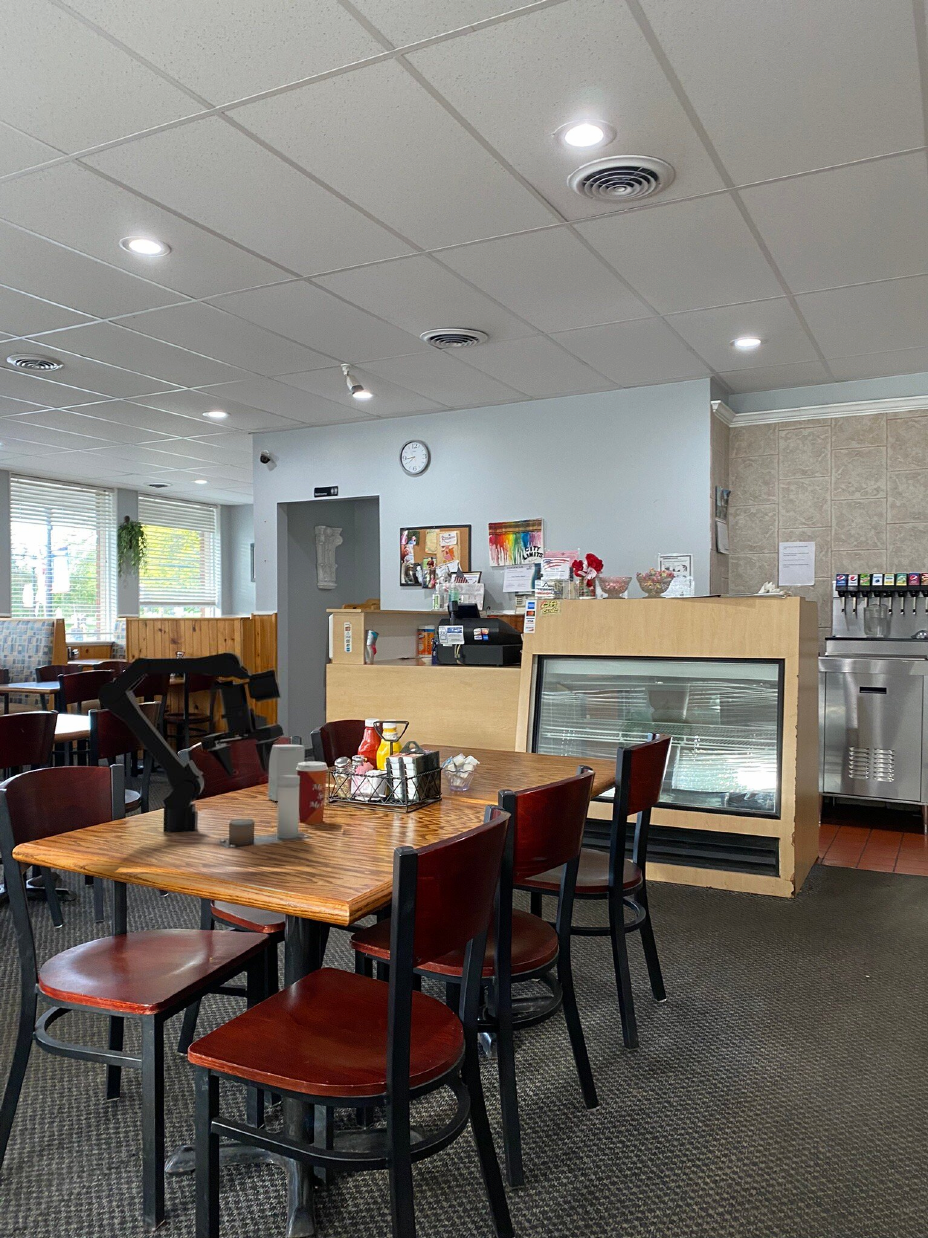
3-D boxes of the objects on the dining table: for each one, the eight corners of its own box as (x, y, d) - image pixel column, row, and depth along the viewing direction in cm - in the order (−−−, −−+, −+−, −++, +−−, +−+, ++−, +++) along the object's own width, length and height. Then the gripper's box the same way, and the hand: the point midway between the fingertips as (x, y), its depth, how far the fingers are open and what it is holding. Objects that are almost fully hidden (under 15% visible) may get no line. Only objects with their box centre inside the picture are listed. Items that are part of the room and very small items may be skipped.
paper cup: (320, 825, 210) (321, 766, 210) (289, 824, 211) (291, 764, 212) (332, 819, 218) (333, 761, 218) (302, 817, 219) (303, 760, 219)
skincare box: (276, 802, 239) (277, 747, 239) (267, 799, 244) (268, 744, 244) (304, 799, 244) (305, 745, 244) (295, 796, 249) (296, 742, 249)
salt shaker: (277, 839, 192) (278, 778, 192) (276, 834, 196) (277, 775, 196) (299, 838, 193) (300, 777, 193) (297, 833, 197) (298, 774, 198)
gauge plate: (228, 852, 183) (229, 847, 183) (215, 845, 189) (215, 839, 189) (313, 841, 194) (313, 836, 194) (298, 834, 200) (298, 829, 200)
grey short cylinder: (226, 845, 186) (226, 823, 186) (231, 839, 191) (231, 818, 191) (251, 845, 186) (252, 823, 186) (256, 839, 191) (256, 818, 191)
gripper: (289, 695, 207) (302, 761, 207) (222, 706, 213) (234, 771, 213) (263, 703, 196) (276, 772, 196) (193, 714, 203) (206, 782, 203)
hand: (248, 774), depth 202 cm, fingers open, 9 cm apart
